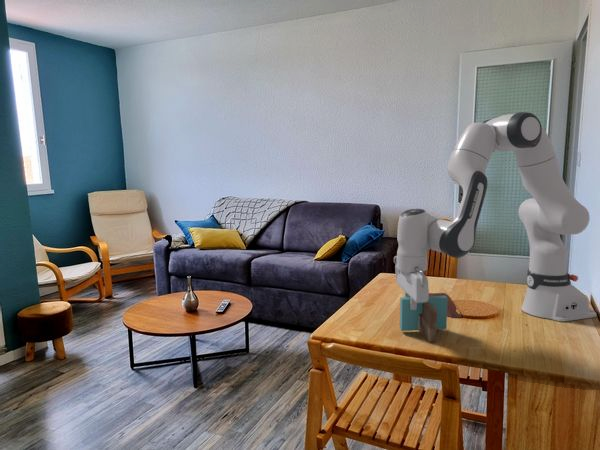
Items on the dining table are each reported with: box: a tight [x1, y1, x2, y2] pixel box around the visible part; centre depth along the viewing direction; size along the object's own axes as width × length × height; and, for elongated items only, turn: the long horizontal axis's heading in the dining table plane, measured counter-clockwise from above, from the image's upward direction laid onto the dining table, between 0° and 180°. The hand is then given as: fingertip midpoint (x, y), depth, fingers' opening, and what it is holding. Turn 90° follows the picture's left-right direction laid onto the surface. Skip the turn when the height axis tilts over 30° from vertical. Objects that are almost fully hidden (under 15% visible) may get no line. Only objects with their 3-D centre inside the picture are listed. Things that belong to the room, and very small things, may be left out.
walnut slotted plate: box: [417, 303, 437, 344], centre depth 132 cm, size 2×16×10 cm, turn 4°
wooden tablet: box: [429, 292, 463, 319], centre depth 157 cm, size 27×10×2 cm, turn 171°
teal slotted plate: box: [399, 296, 448, 332], centre depth 132 cm, size 14×2×10 cm, turn 94°
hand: (410, 307), depth 131 cm, fingers closed on teal slotted plate, 2 cm apart
